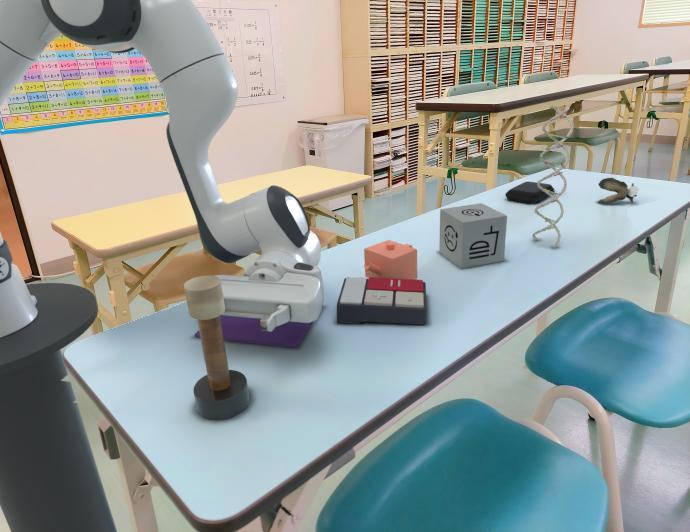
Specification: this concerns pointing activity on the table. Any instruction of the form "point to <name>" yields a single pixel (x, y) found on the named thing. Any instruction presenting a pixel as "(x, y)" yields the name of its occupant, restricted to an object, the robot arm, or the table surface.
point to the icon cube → (472, 235)
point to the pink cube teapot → (390, 261)
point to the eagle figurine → (617, 190)
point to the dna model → (554, 173)
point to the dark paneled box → (382, 301)
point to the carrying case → (528, 192)
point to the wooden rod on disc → (214, 353)
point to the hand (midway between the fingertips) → (233, 323)
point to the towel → (252, 333)
